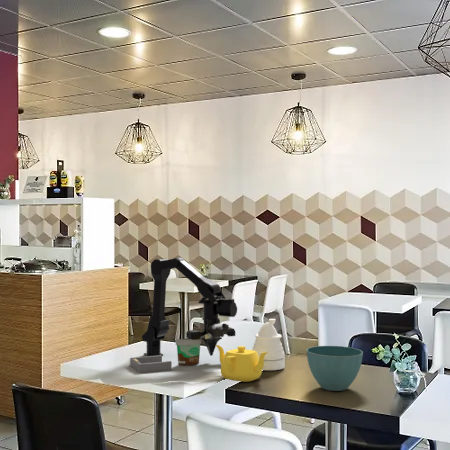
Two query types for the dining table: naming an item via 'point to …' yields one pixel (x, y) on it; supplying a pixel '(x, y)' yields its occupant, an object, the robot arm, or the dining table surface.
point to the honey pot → (270, 346)
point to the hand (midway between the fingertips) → (211, 355)
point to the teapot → (241, 364)
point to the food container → (188, 351)
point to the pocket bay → (150, 364)
